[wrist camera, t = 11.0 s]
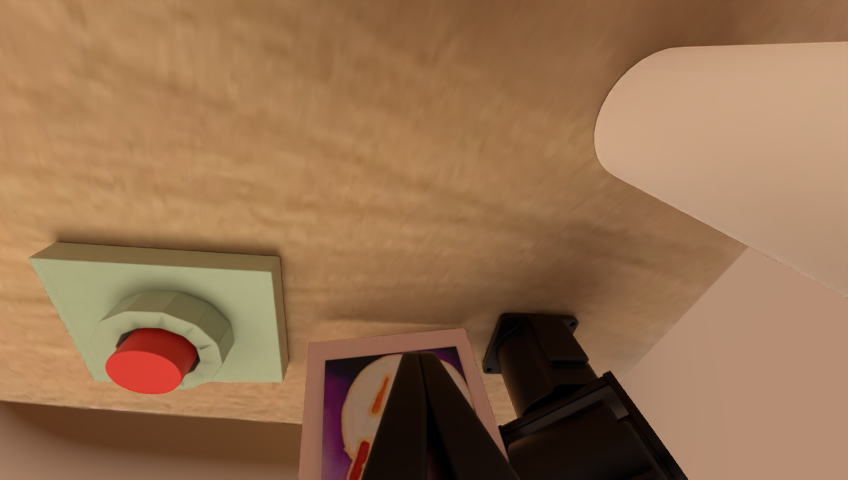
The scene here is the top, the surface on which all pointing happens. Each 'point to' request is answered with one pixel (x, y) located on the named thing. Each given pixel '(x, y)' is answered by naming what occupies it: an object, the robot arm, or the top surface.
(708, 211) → the cylindrical container
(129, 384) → the button
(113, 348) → the button housing
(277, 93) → the top surface
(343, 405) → the greeting card
